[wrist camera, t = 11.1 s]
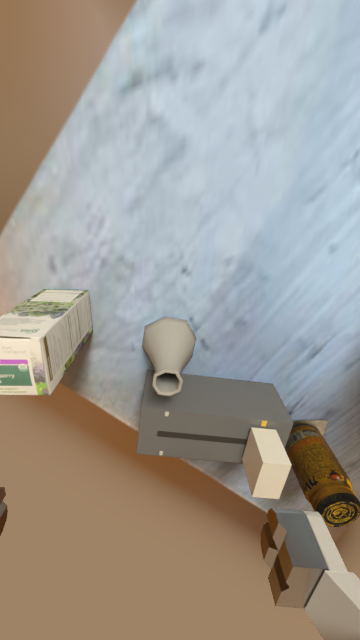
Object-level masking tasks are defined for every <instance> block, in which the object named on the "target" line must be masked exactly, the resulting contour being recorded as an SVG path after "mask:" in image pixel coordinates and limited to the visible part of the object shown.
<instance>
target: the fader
mask: <svg viewBox="0 0 360 640" xmlns="http://www.w3.org/2000/svg"><path fill="white" fill-rule="evenodd" d="M242 460H243V464H244V468H245V472H246V476H247V479H248V483H249V487H250V491H251V495H252V497H260V498H272V499H279V498H280V495H281V492H282V490H283V487H284V484H285V482H286V479H287V476H288V474H289V471H290V468H291V466H292V465H291V462H290V460H289V458H288V456H287V453H286V451H285V449H284V447H283V444H282V442H281V440H280V437H279V435H278V433H277V431H276V430H273V429H263V428H253V427H251V430H250V434H249V437H248V441H247V444H246V448H245V451H244V455H243V458H242Z"/></svg>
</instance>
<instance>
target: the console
mask: <svg viewBox="0 0 360 640" xmlns="http://www.w3.org/2000/svg"><path fill="white" fill-rule="evenodd" d="M154 373H156V372H155V371H150V370H147V376H146V382H145V388H144V394H143V400H142V406H141V415H140V425H139V434H138V443H137V454H145V455H156V456H168V457H178V458H189V459H201V460H212V461H223V462H234V463H243V460H242V458H243V455H244V451H245V448H246V444H247V441H248V437H249V434H250V430H251V427H253V428H263V429H273V430H276V431H277V433H278V435H279V437H280V440H281V442H282V444H283V447H284V449H285V446H286V443H287V440H288V438H289V435H290V432H291V429H292V426H293V421H292V419H291V417H290V415H289V413H288V411H287V409H286V408H285V406H284V404H283V402H282V400H281V398H280V396H279V394H278V393H277V391H276V389H275V387H274V385H273V384H270V383H261V382H251V381H242V380H233V379H224V378H215V377H205V376H196V375H187V374H180V376H181V377H182V379H183V384H182V388H181V392H179V393H177V394H174V395H172V396H163V395H158V394H157V392H156V391H155V389H154V388H153V386H152V383H153V377H154Z"/></svg>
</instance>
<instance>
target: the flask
mask: <svg viewBox="0 0 360 640" xmlns="http://www.w3.org/2000/svg"><path fill="white" fill-rule="evenodd" d="M195 341H196V337H195V335H194V333H193V331H192V330H191V328H190V326H189V324H188V322H187V320H181V319H175V318H169V317H163V318H161V319H159V320H157V321H155V322H153V323H151V324H149V325H147V326H145V331H144V337H143V344H142V346H143V348H144V350H145V351H146V353H147V354H148V356H149V358H150V360H151V361H152V363H153V365H154V368H155V372H156V373H154V377H153V383H152V386H153V388H154V389H155V391H156V392H157V394H158V395H163V396H172V395H174V394H177V393H179V392H181V388H182V384H183V379H182V377H181V376H180V372H181V371H182V369H183V368H184V366H185V365H186V364H187V362H188V361H189V360H190V359H191V358H192V354H193V350H194V345H195Z"/></svg>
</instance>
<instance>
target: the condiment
mask: <svg viewBox="0 0 360 640" xmlns="http://www.w3.org/2000/svg"><path fill="white" fill-rule="evenodd" d="M327 421H328V420H306V421H305V420H301V421H299V420H298V421H293V426H292V429H291V432H290V435H289V438H288V440H287V443H286V446H285V451H286V453H287V456H288V458H289V460H290V462H291V465H292V467H293V470H294V472H295V474H296V476H297V479H298V481H299V484H300V486H301V488H302V490H303V492H304V495H305V497H306V499H307V500H308V501H309V502H310V503H311V504H312V506H313V509H314V510H315V511H316V512H318V513H319V514H320V515H321V516H322V518H323V520H324V522H325V524H326V525H328V526H332V527H340V526H345V525H348V524H350V523H352V522H354V521H355V520H356V519H357V518H358V517H359V515H360V502H359V500H358V499H357V497H356V496H355V493H354V491H353V490H352V484H351V482H350V480H349V478H348V476H347V475H346V472H345V471H344V469H343V468H342V467H341V465H340V463H339V462H338V460H337V459H336V457H335V455H334V453H333V452H332V450H331V449H330V447H329V446H328V444H327V443H326V441H325V439H324V438H323V435H324V431H325V429H326V425H327Z"/></svg>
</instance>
